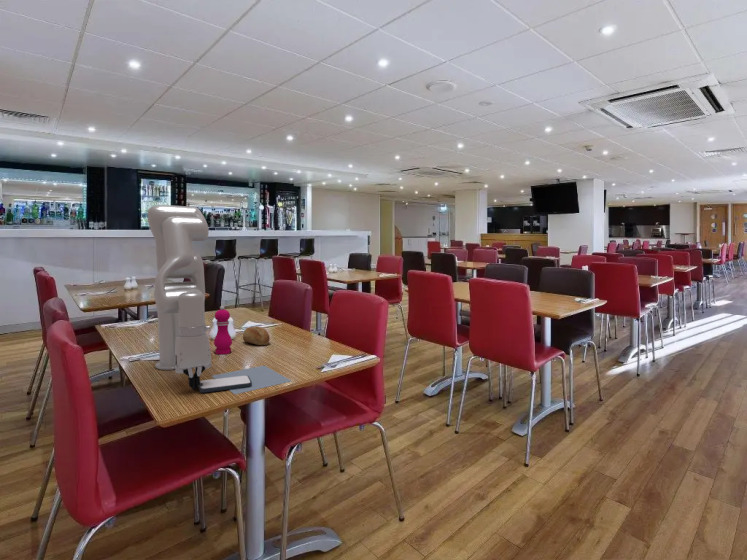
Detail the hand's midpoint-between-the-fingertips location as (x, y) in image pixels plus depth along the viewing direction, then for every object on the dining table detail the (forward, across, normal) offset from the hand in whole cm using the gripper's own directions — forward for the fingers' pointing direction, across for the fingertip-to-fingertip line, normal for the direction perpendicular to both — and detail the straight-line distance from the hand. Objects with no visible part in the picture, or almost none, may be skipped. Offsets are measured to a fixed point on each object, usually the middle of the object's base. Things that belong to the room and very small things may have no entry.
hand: (194, 388), depth 134 cm
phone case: (+1, -9, +2) cm, 9 cm away
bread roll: (+1, -40, -45) cm, 60 cm away
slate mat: (+1, -19, -1) cm, 19 cm away
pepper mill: (+1, -22, -39) cm, 45 cm away
